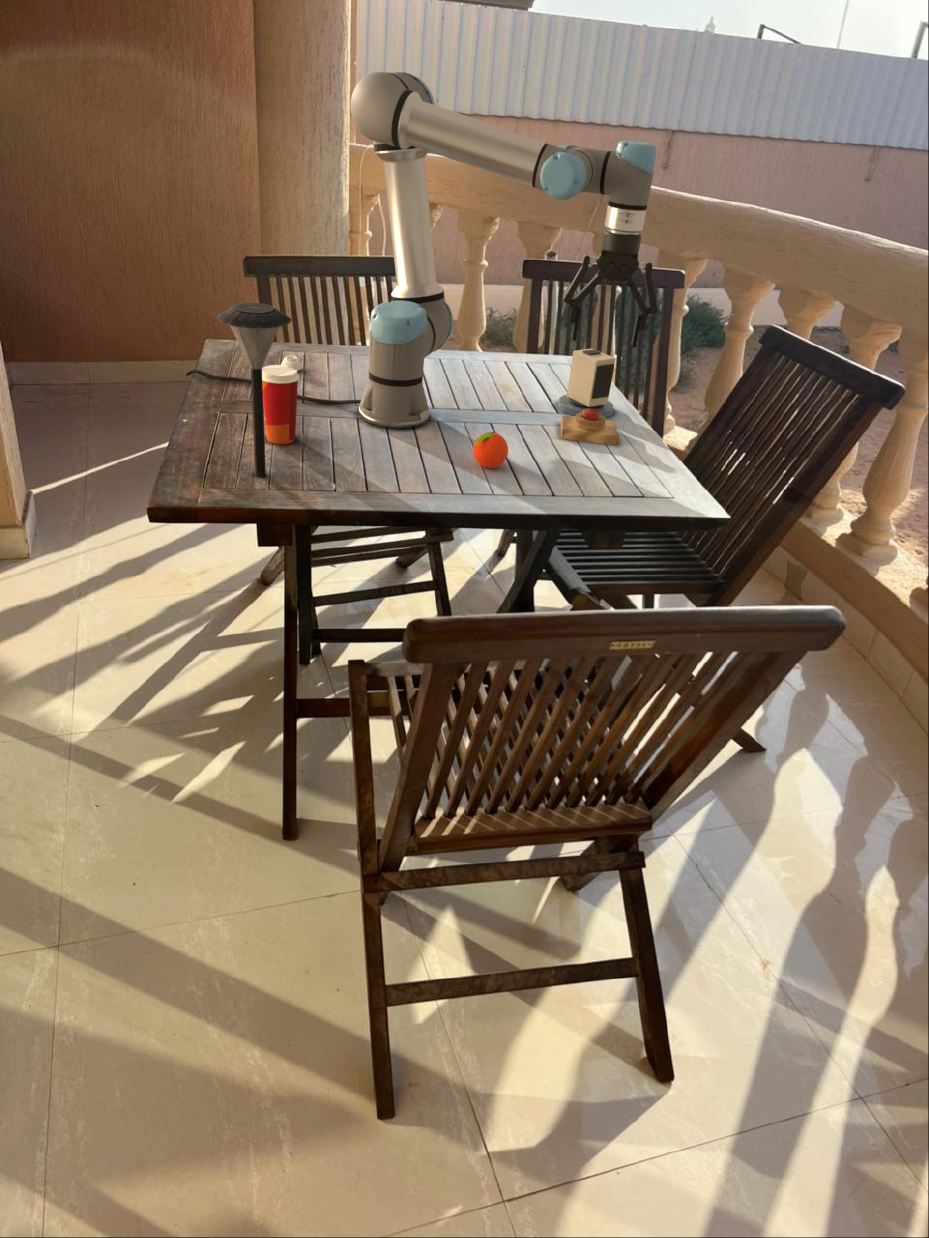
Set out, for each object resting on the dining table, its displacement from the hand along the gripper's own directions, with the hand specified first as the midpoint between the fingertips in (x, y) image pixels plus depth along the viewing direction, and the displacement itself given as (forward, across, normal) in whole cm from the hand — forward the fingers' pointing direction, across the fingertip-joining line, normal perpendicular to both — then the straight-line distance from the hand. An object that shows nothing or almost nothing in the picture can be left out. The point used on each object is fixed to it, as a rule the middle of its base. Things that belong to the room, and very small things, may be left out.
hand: (603, 342), depth 183 cm
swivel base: (+20, 0, +17) cm, 26 cm away
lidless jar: (+20, -72, +21) cm, 78 cm away
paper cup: (+20, -63, -23) cm, 70 cm away
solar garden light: (+20, -62, -41) cm, 77 cm away
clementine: (+20, -21, -25) cm, 39 cm away
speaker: (+18, 0, +17) cm, 25 cm away
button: (+17, 0, 0) cm, 17 cm away
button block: (+20, 0, 0) cm, 20 cm away
